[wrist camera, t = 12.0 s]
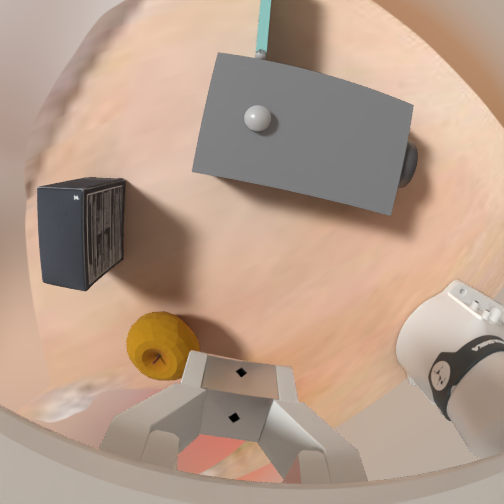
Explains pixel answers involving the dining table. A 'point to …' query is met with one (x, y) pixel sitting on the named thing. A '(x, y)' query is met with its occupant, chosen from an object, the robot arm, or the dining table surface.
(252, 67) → the block
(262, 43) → the side door
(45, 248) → the small box
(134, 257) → the dining table surface
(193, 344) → the apple
